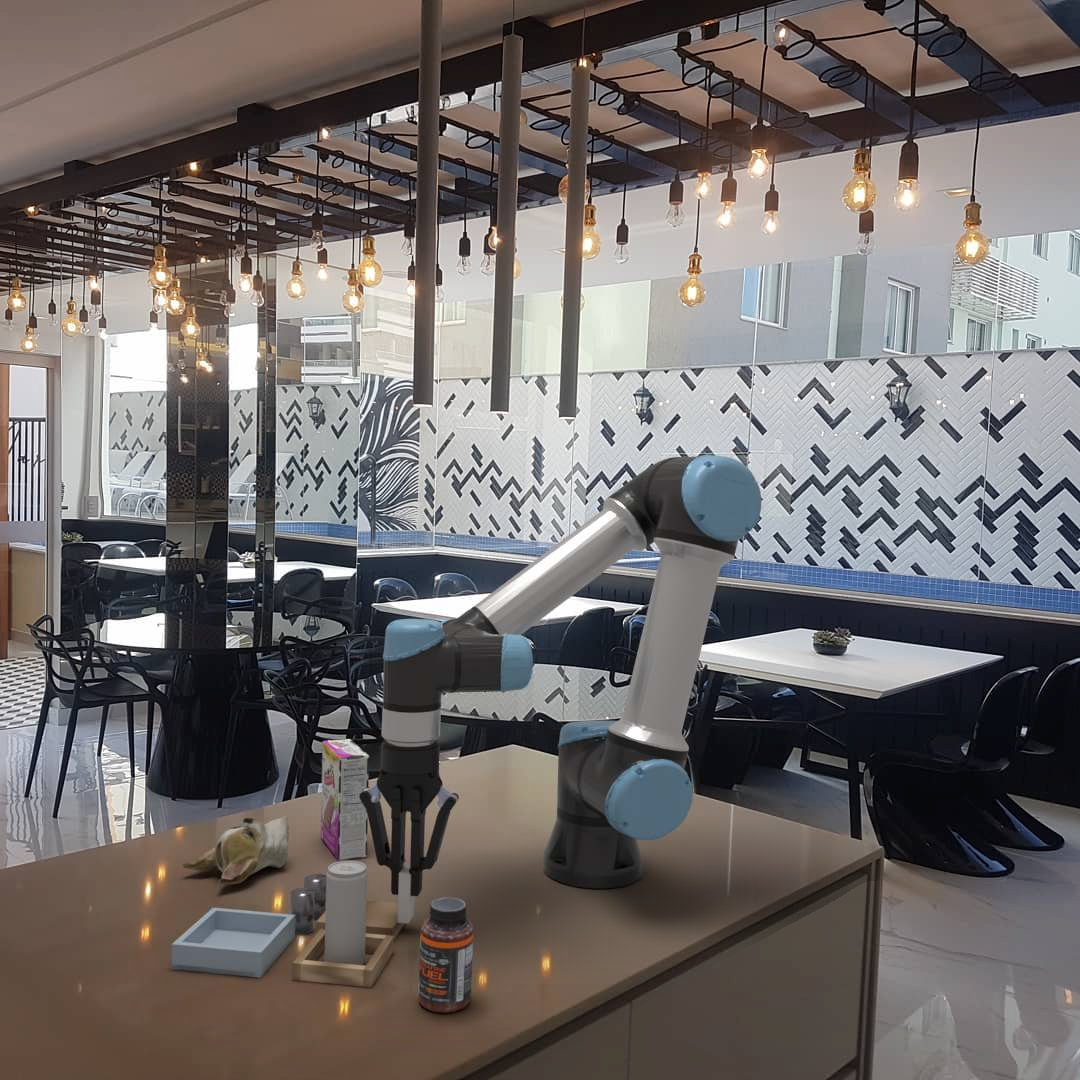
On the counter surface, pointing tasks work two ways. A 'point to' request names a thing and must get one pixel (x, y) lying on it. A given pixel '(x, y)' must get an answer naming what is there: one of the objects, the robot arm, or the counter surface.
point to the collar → (343, 973)
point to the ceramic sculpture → (246, 850)
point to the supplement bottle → (446, 957)
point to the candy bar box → (344, 799)
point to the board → (376, 919)
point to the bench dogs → (308, 903)
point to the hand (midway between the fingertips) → (405, 918)
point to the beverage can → (346, 913)
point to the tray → (233, 942)
